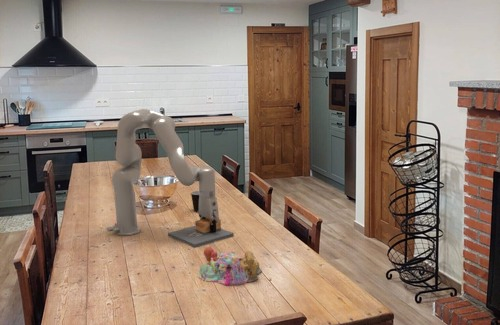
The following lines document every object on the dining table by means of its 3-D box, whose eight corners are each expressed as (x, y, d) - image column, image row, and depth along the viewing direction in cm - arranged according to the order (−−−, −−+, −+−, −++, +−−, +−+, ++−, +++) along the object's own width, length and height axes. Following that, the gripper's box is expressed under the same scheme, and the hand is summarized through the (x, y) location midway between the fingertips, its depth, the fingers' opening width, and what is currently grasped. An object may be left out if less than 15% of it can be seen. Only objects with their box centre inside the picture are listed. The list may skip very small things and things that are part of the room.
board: (194, 247, 231) (194, 244, 231) (167, 235, 248) (167, 232, 248) (233, 236, 245) (233, 232, 245) (205, 225, 262) (205, 222, 262)
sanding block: (203, 234, 244) (203, 224, 243) (195, 231, 248) (195, 221, 248) (220, 229, 250) (220, 219, 249) (212, 226, 255) (212, 216, 254)
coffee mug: (193, 213, 284) (192, 195, 282) (190, 209, 292) (189, 191, 290) (214, 211, 287) (213, 193, 285) (211, 207, 295) (210, 189, 293)
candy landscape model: (258, 261, 215) (258, 239, 214) (265, 285, 192) (265, 261, 191) (197, 264, 213) (196, 242, 211) (196, 289, 190) (195, 265, 188)
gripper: (225, 195, 242) (226, 232, 245) (203, 189, 255) (204, 224, 258) (211, 198, 237) (213, 236, 240) (190, 191, 250) (191, 228, 253)
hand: (208, 230), depth 249 cm, fingers closed on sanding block, 6 cm apart
